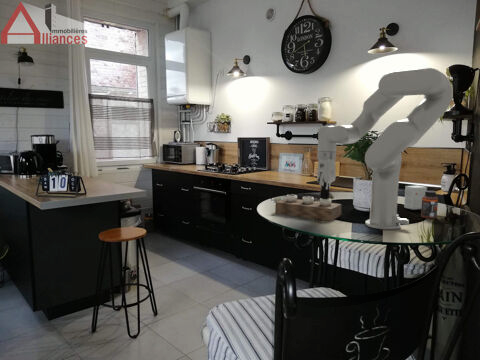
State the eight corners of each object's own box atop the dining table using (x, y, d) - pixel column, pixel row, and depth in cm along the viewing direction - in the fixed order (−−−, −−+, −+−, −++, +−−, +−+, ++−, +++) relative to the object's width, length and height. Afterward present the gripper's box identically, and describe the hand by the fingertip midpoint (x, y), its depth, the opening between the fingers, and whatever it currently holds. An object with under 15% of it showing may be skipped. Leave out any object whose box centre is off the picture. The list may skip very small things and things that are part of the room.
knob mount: (341, 215, 152) (341, 204, 152) (331, 221, 143) (331, 209, 142) (287, 208, 167) (287, 198, 166) (275, 212, 157) (275, 202, 157)
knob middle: (315, 211, 155) (315, 196, 154) (310, 213, 151) (311, 198, 150) (305, 209, 158) (305, 195, 157) (300, 211, 154) (300, 196, 153)
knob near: (332, 213, 151) (333, 198, 150) (328, 215, 147) (328, 199, 146) (321, 212, 153) (322, 197, 153) (317, 214, 150) (318, 198, 149)
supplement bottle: (436, 220, 144) (438, 192, 143) (420, 218, 147) (422, 191, 146) (437, 217, 149) (438, 190, 148) (421, 215, 152) (423, 189, 151)
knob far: (298, 209, 160) (298, 194, 159) (293, 211, 156) (294, 196, 155) (289, 207, 163) (289, 193, 162) (284, 209, 159) (284, 195, 158)
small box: (416, 206, 171) (418, 185, 170) (426, 208, 166) (427, 186, 165) (403, 207, 169) (404, 185, 167) (412, 209, 163) (414, 187, 162)
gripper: (328, 156, 139) (326, 202, 141) (341, 155, 151) (339, 196, 153) (311, 156, 143) (309, 200, 146) (324, 154, 155) (323, 194, 158)
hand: (324, 198), depth 149 cm, fingers closed
